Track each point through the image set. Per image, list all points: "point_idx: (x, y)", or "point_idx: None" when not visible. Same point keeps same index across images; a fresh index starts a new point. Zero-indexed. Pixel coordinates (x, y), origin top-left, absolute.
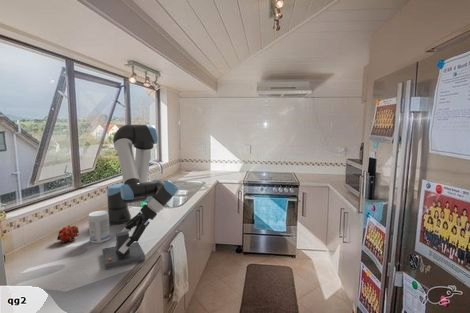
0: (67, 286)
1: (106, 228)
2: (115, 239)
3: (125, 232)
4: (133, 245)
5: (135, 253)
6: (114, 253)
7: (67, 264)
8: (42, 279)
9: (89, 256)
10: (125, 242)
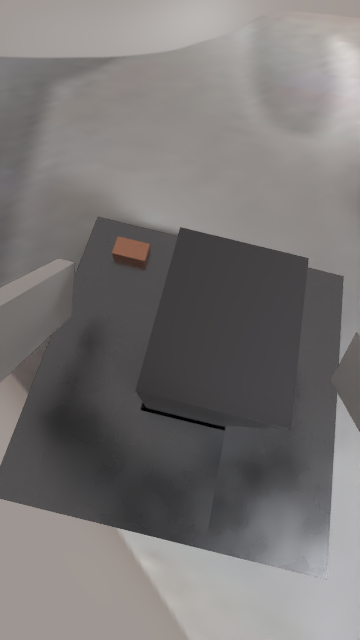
0: (87, 95)
1: None
2: (354, 336)
3: (249, 373)
4: (264, 497)
5: (86, 437)
6: None
7: (302, 142)
8: (222, 60)
9: (335, 233)
10: (10, 289)
